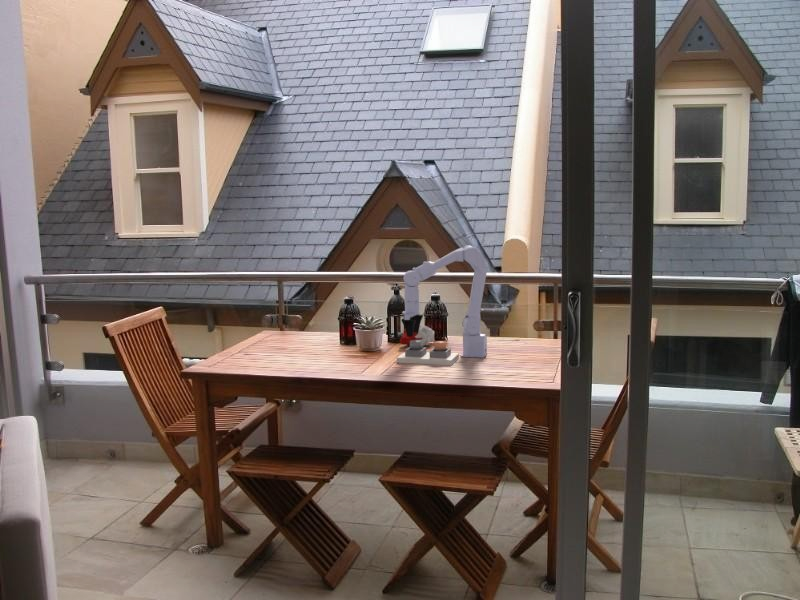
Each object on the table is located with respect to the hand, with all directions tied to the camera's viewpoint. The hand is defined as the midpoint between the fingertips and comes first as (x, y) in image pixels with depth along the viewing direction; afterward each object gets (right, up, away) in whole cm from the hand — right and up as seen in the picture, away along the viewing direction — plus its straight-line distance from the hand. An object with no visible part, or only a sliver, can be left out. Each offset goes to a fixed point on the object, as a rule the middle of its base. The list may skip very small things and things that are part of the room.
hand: (412, 334), depth 319 cm
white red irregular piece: (+1, -6, +23) cm, 24 cm away
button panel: (+6, -10, -4) cm, 12 cm away
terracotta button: (+11, -5, -6) cm, 13 cm away
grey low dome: (+1, -5, -3) cm, 6 cm away
